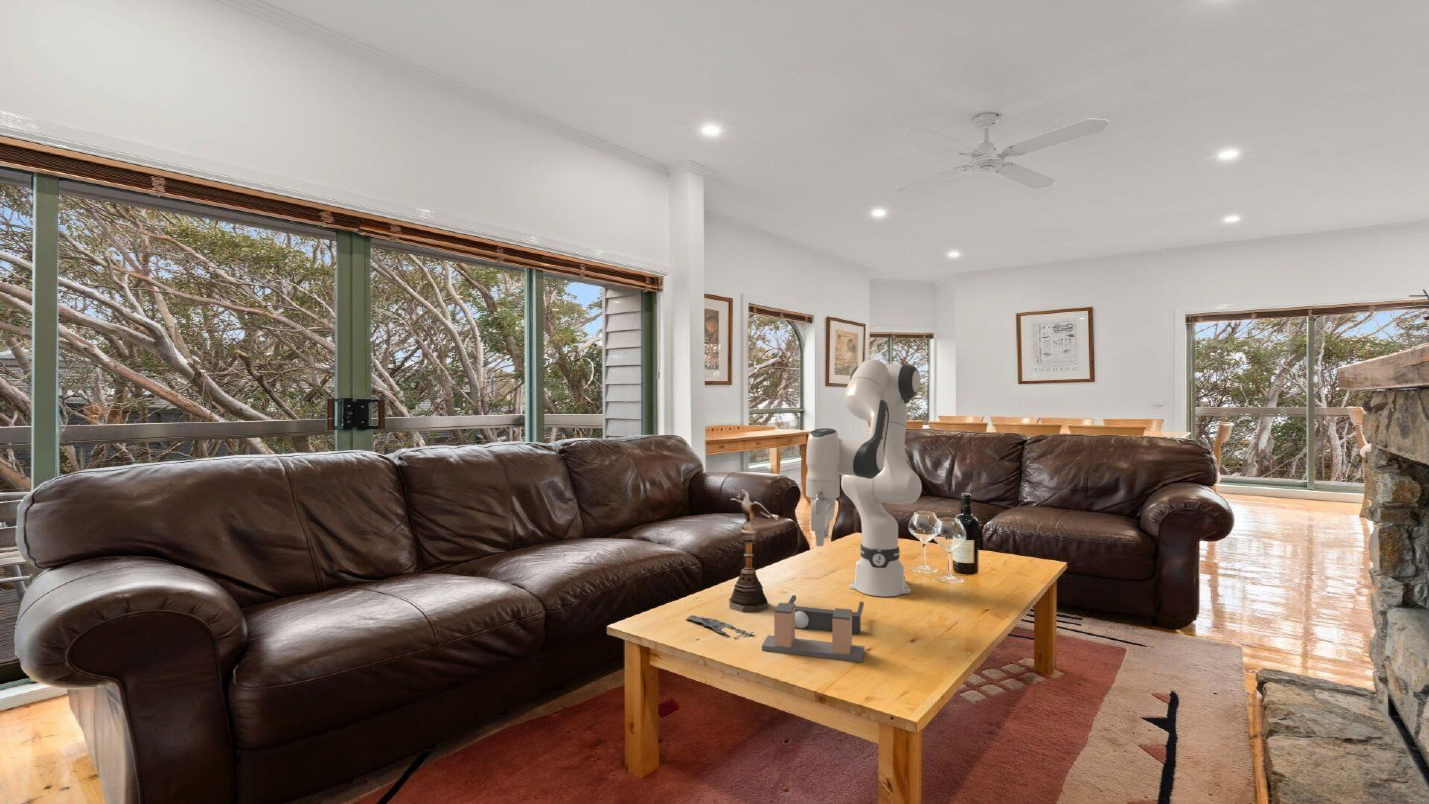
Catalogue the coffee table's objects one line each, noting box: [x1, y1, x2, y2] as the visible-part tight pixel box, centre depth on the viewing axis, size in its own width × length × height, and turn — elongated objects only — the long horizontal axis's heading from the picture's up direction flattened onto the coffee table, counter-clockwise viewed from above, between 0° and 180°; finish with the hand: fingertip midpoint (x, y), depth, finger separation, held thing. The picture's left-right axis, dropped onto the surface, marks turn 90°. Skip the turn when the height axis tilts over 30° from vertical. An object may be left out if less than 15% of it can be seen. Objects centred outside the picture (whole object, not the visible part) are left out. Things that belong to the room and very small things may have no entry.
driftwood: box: [685, 614, 754, 640], centre depth 176 cm, size 21×7×2 cm, turn 41°
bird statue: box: [728, 481, 780, 613], centre depth 195 cm, size 17×13×35 cm
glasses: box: [787, 594, 865, 636], centre depth 179 cm, size 14×20×5 cm
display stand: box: [761, 602, 866, 663], centre depth 160 cm, size 7×24×10 cm, turn 73°
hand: (822, 541), depth 174 cm, fingers open, 8 cm apart
